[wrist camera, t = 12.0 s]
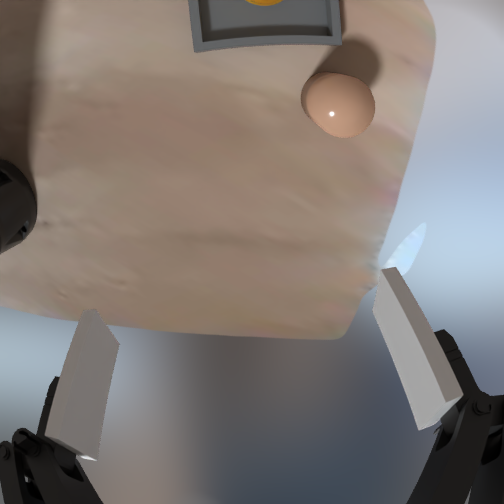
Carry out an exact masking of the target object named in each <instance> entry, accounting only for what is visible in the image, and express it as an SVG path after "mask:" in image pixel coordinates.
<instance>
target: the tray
mask: <svg viewBox="0 0 504 504" xmlns="http://www.w3.org/2000/svg"><path fill="white" fill-rule="evenodd" d="M188 3H189V12H190V21H191V30H192V38H193V46H194V52H196V53H198V52H205V51H212V50H220V49H228V48H238V47H249V46H265V45H333V46H336V45H342V37H341V22H340V10H339V0H283V1H281V2H279V3H277V4H274V5H269V6H260V5H255V4H252V3H249V2H247V1H246V0H188Z"/></svg>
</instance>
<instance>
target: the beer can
mask: <svg viewBox="0 0 504 504" xmlns="http://www.w3.org/2000/svg"><path fill="white" fill-rule="evenodd" d="M246 1H247V2H249V3H252V4H255V5H260V6H269V5H274V4H277V3H279V2H281V1H283V0H246Z"/></svg>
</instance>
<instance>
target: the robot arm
mask: <svg viewBox="0 0 504 504" xmlns="http://www.w3.org/2000/svg"><path fill="white" fill-rule="evenodd" d="M36 214H37V213H36V202H35V198H34V195H33V192H32V189H31V187H30V185H29V183H28V181H27V180H26V178H25V177H24V175H23V174H22V173H21V172H20V171H19V170H18V169H17V168H16V167H15V166H14V165H13V164H11V163H9V162H7V161H5V160H1V159H0V254H1V253H3V252H5V251H7V250H9V249H10V248H12V247H14V246H16V245H18V244H19V243H21V242H22V241H23V240H24V239H25V238H26V237H27V236H28V235H29V233H30V232H31V231H32V229H33V227H34V225H35V222H36ZM372 312H373V314H374V316H375V318H376V320H377V323H378V325H379V328H380V330H381V332H382V334H383V337H384V339H385V342H386V344H387V346H388V349H389V351H390V354H391V356H392V359H393V361H394V364H395V366H396V369H397V371H398V374H399V376H400V379H401V382H402V384H403V387H404V390H405V393H406V395H407V398H408V401H409V403H410V406H411V409H412V412H413V415H414V418H415V421H416V424H417V427H418V430H421V429H424V428H426V427H429V426H431V425H433V424H435V423H436V422H437V421H438V420H439V419H440V420H441V423H442V425H440V426H439V427H438V428H437V429H436V431H435V432H434V434H437V433H438V435H437V438H436V441H435V443H434V446H433V448H432V451H431V453H430V455H429V458H428V460H427V462H426V465H425V467H424V469H423V472H422V474H421V476H420V478H419V480H418V482H417V484H416V486H415V488H414V490H413V492H412V494H411V496H410V498H409V500H408V502H407V503H406V504H464V503H465V501H466V499H467V496H468V494H469V491H470V489H471V493H470V498H469V502H468V504H504V395H498V396H489V395H488V394H486V393H485V392H482V391H480V389H479V388H478V386H477V384H476V382H475V380H474V378H473V376H472V374H471V372H470V370H469V367H468V366H467V364H466V361H465V359H464V358H463V357H462V354H461V352H460V350H459V349H458V346H457V344H456V342H455V340H454V338H453V337H452V336H451V335H450V334H449V333H448V332H446V331H445V330H444V329H443V330H440V331H437V332H433V330H432V329H431V327H430V325H429V323H428V321H427V319H426V317H425V316H424V314H423V312H422V310H421V308H420V307H419V305H418V303H417V301H416V300H415V298H414V296H413V294H412V293H411V291H410V289H409V288H408V286H407V284H406V283H405V281H404V279H403V278H402V276H401V274H400V273H399V271H398V270H397V268H396V267H393V268H387V269H382V270H381V272H380V278H379V283H378V288H377V292H376V297H375V302H374V306H373V310H372ZM119 345H120V344H119V342H118V341H117V340H116V338H115V337H114V335H113V334H112V332H111V331H110V330H109V328H108V327H107V325H106V324H105V322H104V321H103V319H102V318H101V316H100V315H99V313H98V312H97V310H96V309H91V310H83V313H82V315H81V318H80V320H79V323H78V326H77V328H76V331H75V334H74V336H73V339H72V342H71V345H70V348H69V351H68V353H67V357H66V360H65V362H64V366H63V369H62V372H61V375H60V377H56V376H55V378H54V379H53V381H52V383H51V384H50V386H49V389H48V392H47V397H46V399H45V405H44V406H43V411H42V414H41V418H40V422H39V426H38V431H37V434H36V435H35V434H33V433H32V432H30V431H29V430H27V429H26V428H20V429H18V430H17V431H16V432H15V433H14V435H13V437H12V444H11V443H10V442H8V441H3V442H1V443H0V481H1V487H2V493H3V498H4V503H5V504H103V502H102V501H101V499H100V498H99V496H98V494H97V493H96V491H95V489H94V488H93V486H92V484H91V483H90V481H89V479H88V477H87V476H86V474H85V472H84V470H83V468H82V467H81V465H80V463H79V462H78V460H77V459H76V454H77V455H78V456H80V457H82V458H84V459H89V460H95V461H97V460H98V452H99V445H100V439H101V432H102V425H103V420H104V414H105V409H106V404H107V398H108V393H109V388H110V384H111V379H112V374H113V370H114V365H115V361H116V357H117V353H118V348H119ZM25 476H26V477H28V482H26V481H25ZM471 486H472V487H471Z"/></svg>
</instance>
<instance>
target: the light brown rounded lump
mask: <svg viewBox="0 0 504 504" xmlns="http://www.w3.org/2000/svg"><path fill="white" fill-rule="evenodd" d="M301 104H302V107H303V110H304V111H305V113H306V114H307V116H308V117H309V118H310V119H312V120H313V121H314V122H315V123H316V124H317V125H319V126H320V127H321V128H322V129H323V130H325V131H326V132H327V133H329V134H331V135H333V136H336V137H340V138H349V137H353V136H356V135H358V134H360V133H362V132H363V131H364V130H365V129H366V128H367V127H368V126H369V125H370V123H371V122H372V120H373V117H374V113H375V101H374V97H373V95H372V92H371V91H370V89H369V88H368V87H367V85H366V84H365V83H363V82H362V81H361V80H359V79H357V78H355V77H352V76H348V75H343V74H338V73H333V72H322V73H318V74H316V75H314V76H312V77H311V78H310V79H309V80H308V81H307V82H306V83H305V85H304V87H303V89H302V92H301Z"/></svg>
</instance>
